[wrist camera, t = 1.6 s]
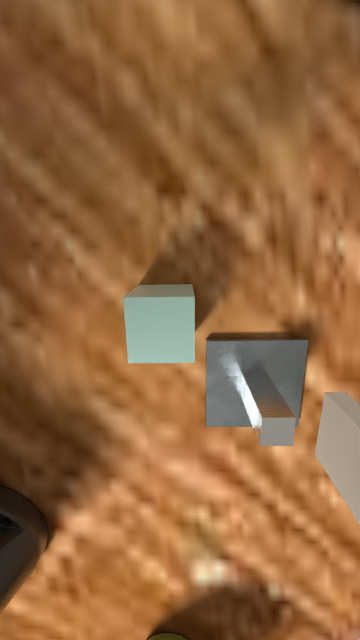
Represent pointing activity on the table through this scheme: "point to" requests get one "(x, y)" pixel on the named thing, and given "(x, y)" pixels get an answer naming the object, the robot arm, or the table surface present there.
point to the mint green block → (160, 323)
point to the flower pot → (167, 637)
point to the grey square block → (256, 385)
